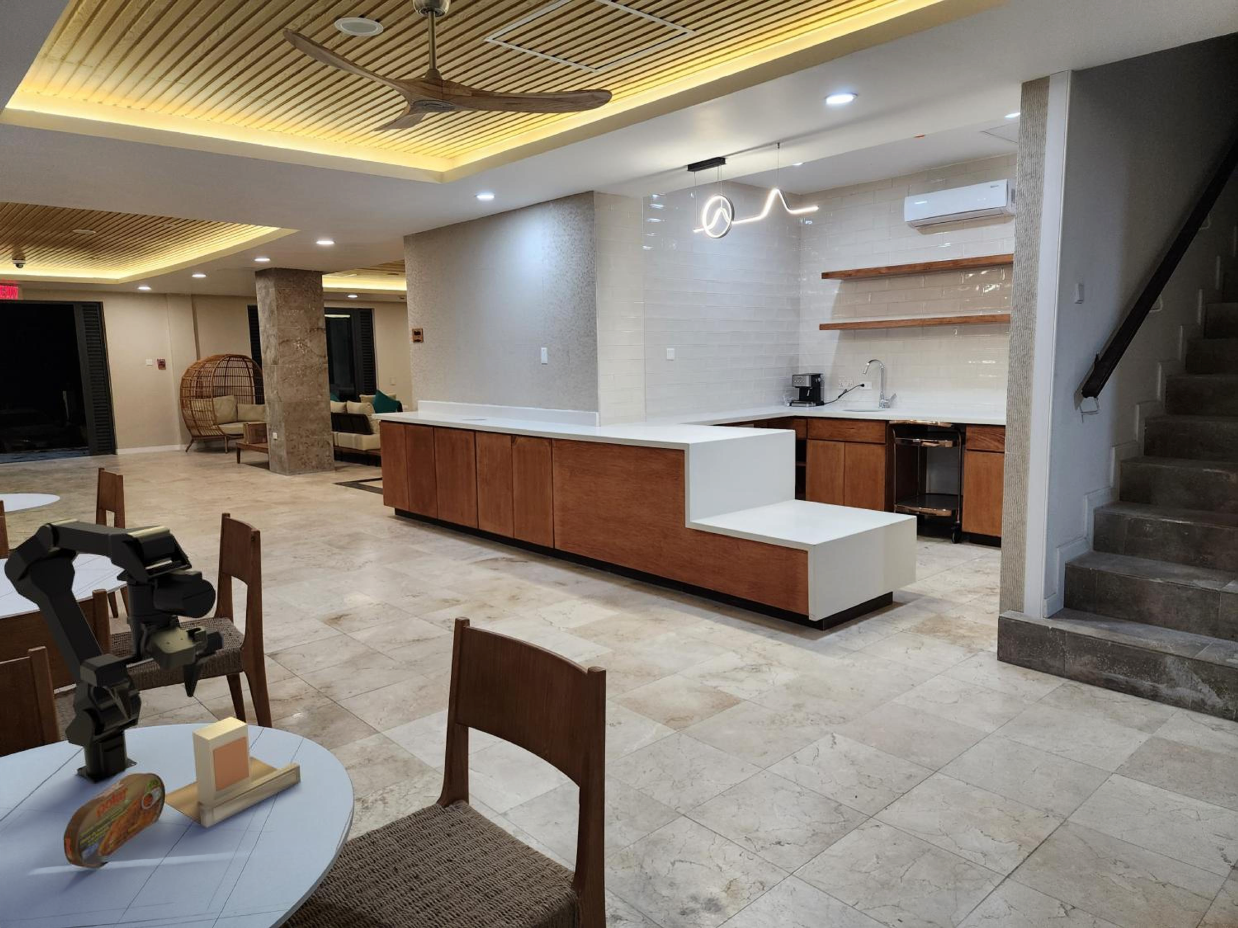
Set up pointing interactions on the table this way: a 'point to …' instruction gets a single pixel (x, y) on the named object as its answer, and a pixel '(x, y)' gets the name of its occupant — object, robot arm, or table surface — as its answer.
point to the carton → (221, 759)
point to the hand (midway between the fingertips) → (160, 707)
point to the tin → (113, 819)
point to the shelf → (235, 793)
